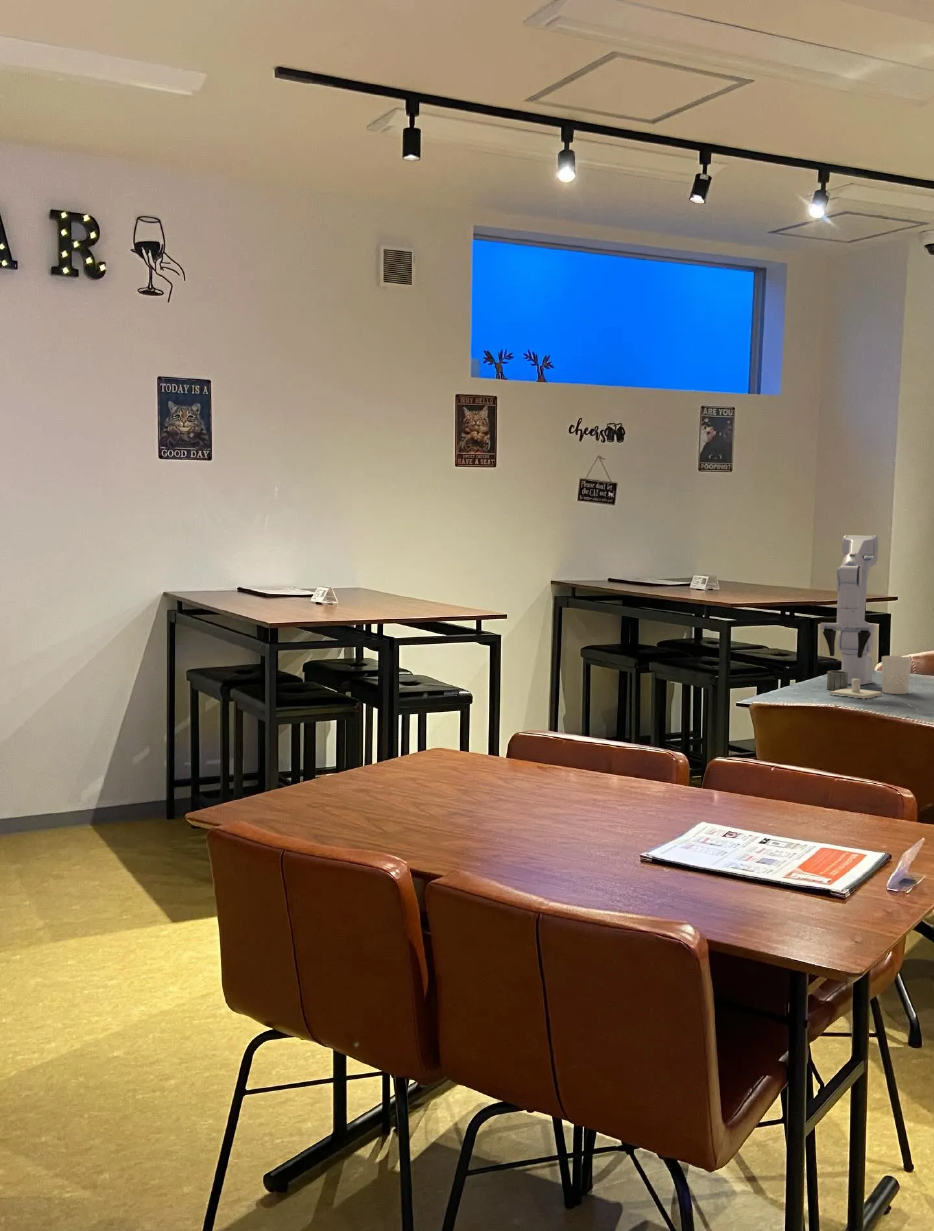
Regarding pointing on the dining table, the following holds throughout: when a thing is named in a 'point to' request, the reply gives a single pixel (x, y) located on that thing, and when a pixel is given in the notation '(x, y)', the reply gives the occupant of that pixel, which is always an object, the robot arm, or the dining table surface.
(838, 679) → the ring
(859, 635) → the robot arm
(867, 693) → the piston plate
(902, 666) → the white cup
